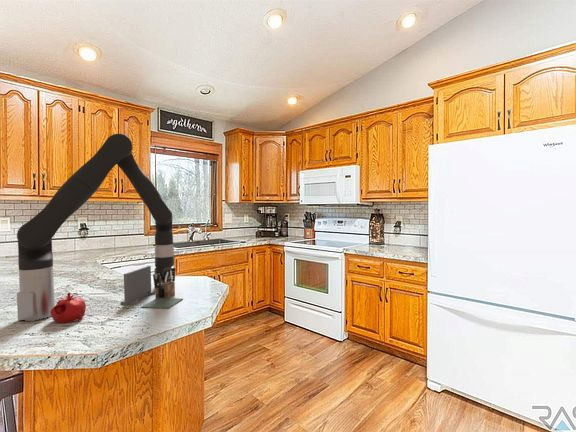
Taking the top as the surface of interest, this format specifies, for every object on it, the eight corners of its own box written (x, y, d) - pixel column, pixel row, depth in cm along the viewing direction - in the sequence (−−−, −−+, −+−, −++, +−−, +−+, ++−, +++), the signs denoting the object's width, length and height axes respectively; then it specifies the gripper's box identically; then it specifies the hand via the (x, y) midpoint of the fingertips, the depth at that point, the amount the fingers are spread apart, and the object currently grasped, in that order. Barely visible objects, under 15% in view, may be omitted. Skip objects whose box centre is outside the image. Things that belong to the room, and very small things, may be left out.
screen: (132, 305, 119) (131, 274, 118) (120, 304, 119) (119, 273, 119) (155, 293, 135) (154, 265, 134) (144, 292, 135) (144, 265, 135)
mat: (168, 308, 114) (168, 307, 114) (141, 307, 116) (141, 306, 115) (182, 299, 125) (182, 298, 125) (157, 298, 126) (157, 297, 126)
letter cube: (168, 298, 127) (167, 284, 126) (155, 298, 127) (155, 284, 127) (174, 294, 132) (174, 281, 132) (162, 294, 133) (162, 281, 132)
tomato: (80, 312, 111) (80, 287, 111) (91, 318, 105) (90, 291, 105) (46, 320, 104) (46, 292, 104) (55, 327, 97) (55, 297, 97)
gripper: (163, 258, 121) (164, 300, 122) (181, 252, 136) (182, 290, 136) (145, 258, 122) (147, 300, 123) (165, 252, 137) (166, 290, 137)
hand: (165, 295), depth 130 cm, fingers closed on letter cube, 5 cm apart
